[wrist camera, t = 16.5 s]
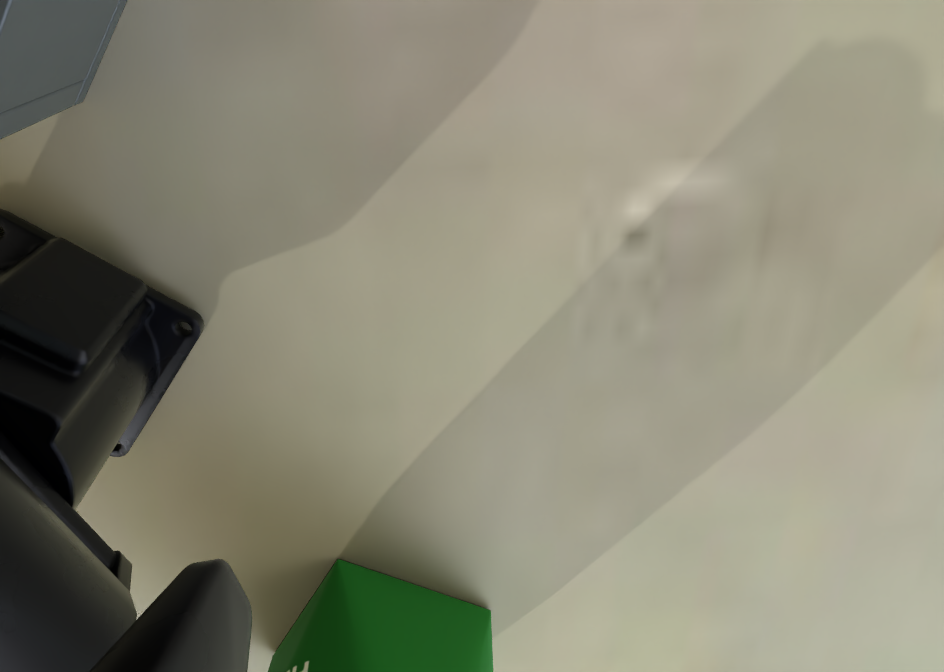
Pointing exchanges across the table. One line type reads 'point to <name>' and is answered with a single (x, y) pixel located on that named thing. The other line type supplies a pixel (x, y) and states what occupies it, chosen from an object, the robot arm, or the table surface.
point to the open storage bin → (50, 55)
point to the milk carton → (384, 628)
